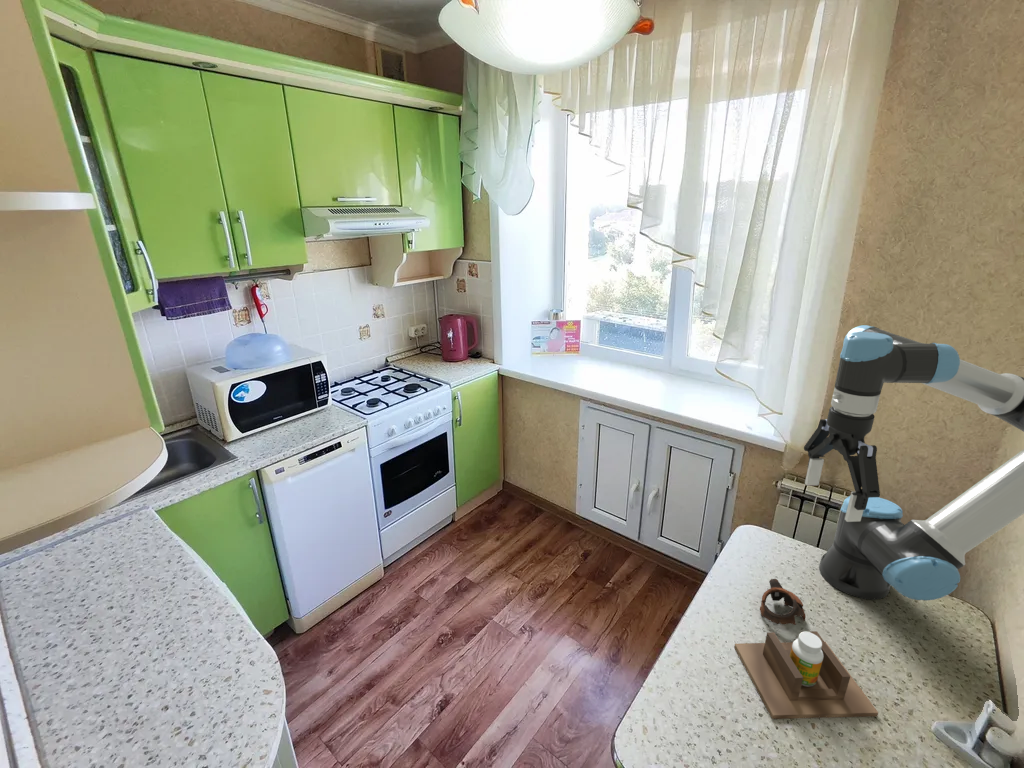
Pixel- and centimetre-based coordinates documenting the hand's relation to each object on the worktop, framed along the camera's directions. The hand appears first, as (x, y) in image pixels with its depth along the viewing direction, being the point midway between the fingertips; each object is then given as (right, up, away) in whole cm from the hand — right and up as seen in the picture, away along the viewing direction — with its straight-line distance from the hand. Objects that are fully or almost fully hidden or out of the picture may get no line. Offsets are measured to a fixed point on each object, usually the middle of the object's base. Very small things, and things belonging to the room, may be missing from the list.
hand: (830, 501), depth 103 cm
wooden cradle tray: (-9, -35, -5) cm, 37 cm away
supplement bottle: (-9, -35, -5) cm, 36 cm away
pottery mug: (-4, -30, +12) cm, 32 cm away
